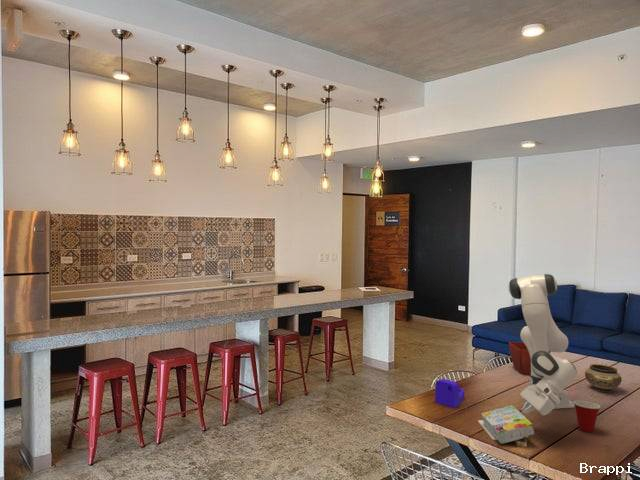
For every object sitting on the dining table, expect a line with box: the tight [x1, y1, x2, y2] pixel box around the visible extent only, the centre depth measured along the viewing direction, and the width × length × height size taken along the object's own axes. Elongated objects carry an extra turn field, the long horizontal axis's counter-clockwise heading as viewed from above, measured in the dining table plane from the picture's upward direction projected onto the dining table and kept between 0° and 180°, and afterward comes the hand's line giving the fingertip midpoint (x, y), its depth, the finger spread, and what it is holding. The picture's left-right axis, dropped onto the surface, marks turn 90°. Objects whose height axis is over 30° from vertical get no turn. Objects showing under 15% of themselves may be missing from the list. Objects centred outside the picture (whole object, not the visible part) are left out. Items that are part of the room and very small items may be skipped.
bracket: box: [434, 378, 466, 409], centre depth 250 cm, size 18×11×12 cm, turn 134°
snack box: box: [481, 404, 536, 445], centre depth 210 cm, size 21×6×15 cm
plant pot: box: [508, 341, 551, 376], centre depth 303 cm, size 19×19×17 cm
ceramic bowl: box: [584, 363, 623, 393], centre depth 272 cm, size 24×18×15 cm
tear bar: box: [513, 437, 528, 447], centre depth 210 cm, size 4×23×3 cm, turn 0°
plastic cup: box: [573, 400, 601, 433], centre depth 217 cm, size 11×11×12 cm
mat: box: [477, 419, 498, 441], centre depth 214 cm, size 8×20×1 cm, turn 0°
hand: (523, 412), depth 210 cm, fingers closed
